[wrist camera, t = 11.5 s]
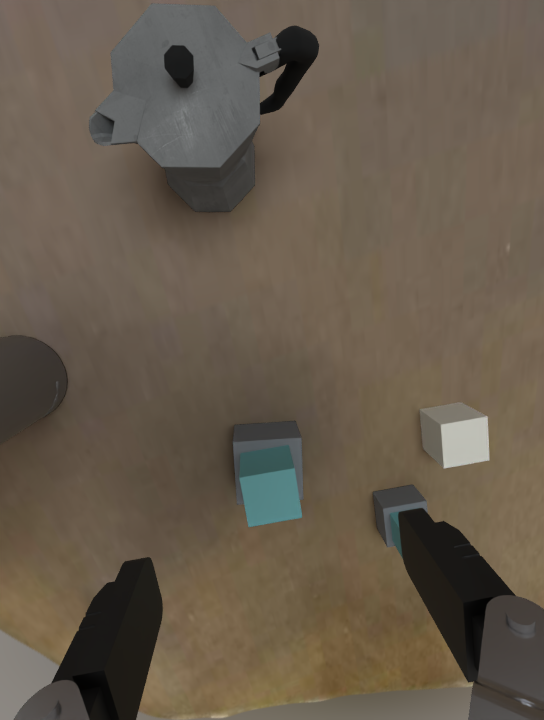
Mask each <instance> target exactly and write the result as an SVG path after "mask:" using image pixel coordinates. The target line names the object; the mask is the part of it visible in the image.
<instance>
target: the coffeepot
mask: <svg viewBox="0 0 544 720" xmlns="http://www.w3.org/2000/svg"><path fill="white" fill-rule="evenodd" d="M318 50H319V44H318V41H317V38H316V37H315V35H313V34H312V33H311V32H310V31H308V30H306V29H303V28H301V27H298V26H290V27H288V28H286V29H284V30H283V31H281V32H280V33H279V34H278V35H277V36H276V37H275V38H273V39H272V36H271V33H268V34H266V35H263V36H261V37H259V38H257V39H254V40H252V41H250V42H248V43H247V42H246V41H245V40H244V39H243V38H242V37H241V35H240V34H239V33H238V32H237V31H236V30H235V29H234V27H233V26H232V25H231V24H230V23H229V22H228V20H227V19H226V18H225V17H224V16H223V15H222V14H221V12H220V11H219V10H218V9H217V8H216V7H215V6H207V5H180V4H151V5H150V6H149V7H148V9H147V10H146V11H145V12H144V13H143V15H142V16H141V17H140V18H139V19H138V21H137V22H136V23H135V24H134V25H133V27H132V28H131V29H130V30H129V31H128V32H127V34H126V35H125V36H124V37H123V38H122V40H121V41H120V42H119V43H118V44H117V46H116V47H115V48H114V49H113V50H112V52H111V64H112V76H113V89H114V91H113V92H112V93H111V94H110V95H109V96H108V97H107V98H106V99H105V100H104V101H103V102H102V103H101V105H100V106H99V107H98V108H97V109H96V110H95V111H96V112H95V113H94V114H93V115H92V116H91V117H90V120H89V130H90V133H91V136H92V138H93V140H94V142H95V143H97V144H100V145H103V146H106V145H117V144H128V143H137V144H139V145H140V146H141V147H142V148H143V149H144V150H145V151H146V152H147V153H148V154H149V155H150V156H151V157H152V158H153V159H154V160H155V161H156V162H157V163H158V164H159V165H160V166H161V167H162V168H164V169H165V171H166V176H167V182H168V185H169V186H170V187H171V188H172V189H173V190H174V191H175V192H176V193H177V194H178V195H179V196H180V197H181V198H182V199H183V200H184V201H185V202H186V203H187V204H188V205H189V206H190V207H191V208H192V209H193V210H194V211H200V212H231V210H232V209H233V208H234V207H235V206H236V205H237V204H238V203H239V202H240V201H241V200H242V199H243V198H244V197H245V195H246V194H247V193H248V192H249V191H250V190H251V189H252V188H253V187H254V186H255V160H254V145H253V142H252V139H253V137H254V135H255V132H256V130H257V128H258V126H259V125H260V114H261V115H262V114H266V113H270V112H274V111H276V110H279V109H280V108H281V107H282V106H283V105H284V103H285V102H286V100H287V99H288V98H289V96H290V95H291V94H292V92H293V91H294V89H295V88H296V86H297V85H298V83H299V82H300V80H301V79H302V77H303V76H304V74H305V73H306V71H307V70H308V69H309V67H310V66H311V65H312V63H313V62H314V60H315V59H316V57H317V55H318ZM285 64H286V67H285V69H284V72H283V73H282V74H281V75H280V77H279V78H278V79H277V81H276V84H275V88H274V93H273V94H272V95H271V96H269V97H268V98H267V99H265V100H264V101H263V102H261V103H260V85H259V77H261V76H263V75H265V74H267V73H270V72H272V71H274V70H276V69H277V68H279V67H281V66H283V65H285Z"/></svg>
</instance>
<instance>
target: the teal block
mask: <svg viewBox="0 0 544 720" xmlns="http://www.w3.org/2000/svg"><path fill="white" fill-rule="evenodd" d="M239 479H240V484H241V489H242V494H243V500H244V505H245V510H246V516H247V521H248V526H249V527H252V526H258V525H263V524H269V523H274V522H280V521H286V520H291V519H297V518H302V512H301V506H300V499H299V493H298V487H297V480H296V474H295V468H294V464H293V460H292V456H291V452H290V448H289V445H285V446H280V447H274V448H268V449H262V450H256V451H251V452H245V453H240V475H239Z"/></svg>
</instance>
